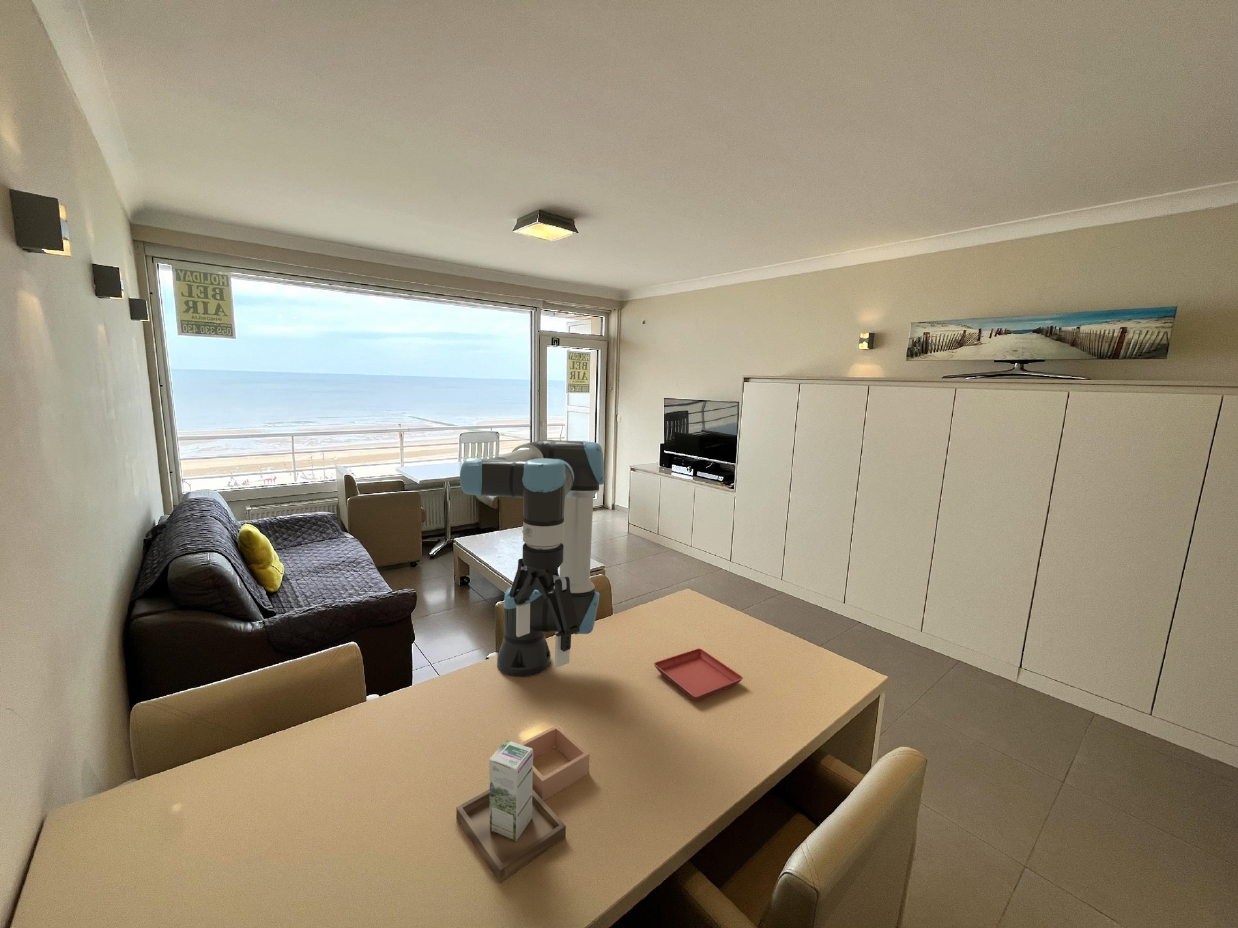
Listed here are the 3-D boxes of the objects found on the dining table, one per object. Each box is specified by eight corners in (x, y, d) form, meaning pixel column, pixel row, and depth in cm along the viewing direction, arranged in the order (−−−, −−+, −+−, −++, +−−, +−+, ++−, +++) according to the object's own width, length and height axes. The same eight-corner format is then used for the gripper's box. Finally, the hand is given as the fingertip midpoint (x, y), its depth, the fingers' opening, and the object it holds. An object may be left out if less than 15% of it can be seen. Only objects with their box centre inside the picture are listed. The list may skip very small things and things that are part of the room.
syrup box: (533, 817, 93) (534, 746, 91) (515, 843, 88) (516, 768, 85) (506, 807, 95) (507, 737, 93) (487, 832, 90) (488, 758, 87)
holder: (510, 767, 106) (511, 747, 105) (556, 743, 114) (556, 724, 113) (542, 801, 98) (542, 780, 97) (588, 773, 105) (589, 753, 105)
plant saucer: (743, 688, 139) (744, 676, 139) (694, 708, 129) (695, 696, 129) (699, 657, 154) (699, 647, 153) (651, 673, 144) (652, 662, 143)
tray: (456, 818, 93) (456, 807, 93) (518, 783, 102) (518, 773, 101) (500, 883, 81) (500, 870, 81) (565, 837, 90) (565, 825, 90)
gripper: (492, 529, 100) (492, 628, 104) (566, 568, 82) (563, 686, 86) (525, 523, 105) (524, 618, 109) (601, 558, 87) (597, 671, 91)
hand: (541, 648), depth 97 cm, fingers open, 13 cm apart
